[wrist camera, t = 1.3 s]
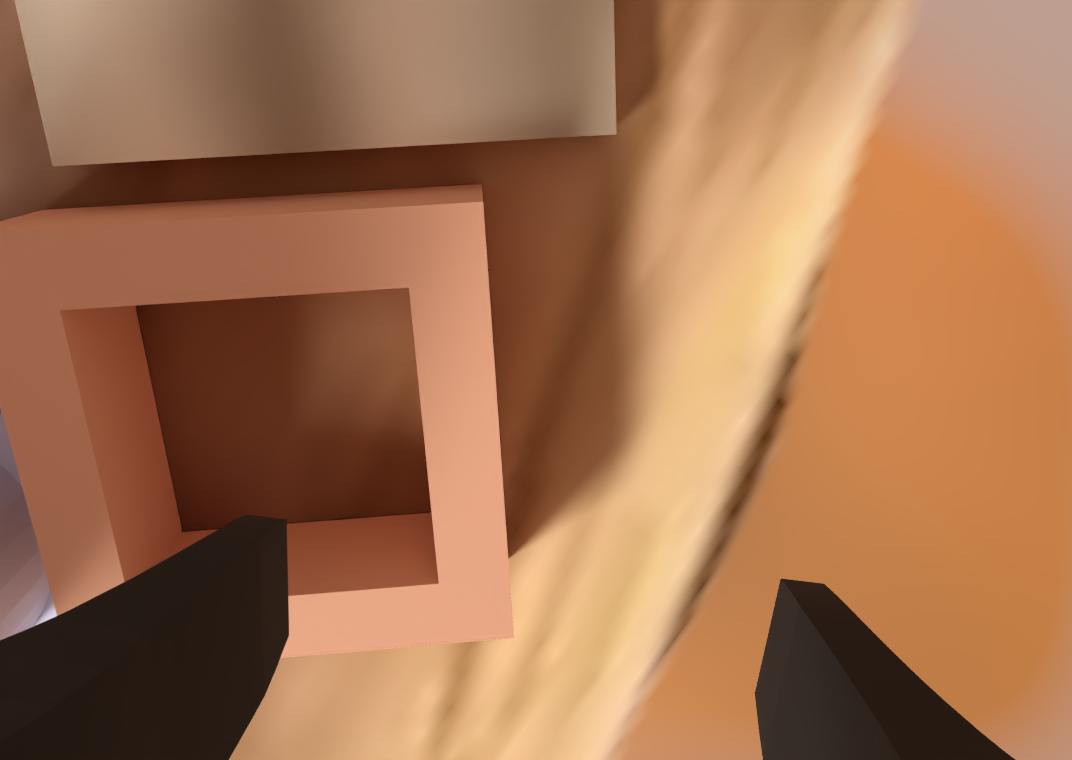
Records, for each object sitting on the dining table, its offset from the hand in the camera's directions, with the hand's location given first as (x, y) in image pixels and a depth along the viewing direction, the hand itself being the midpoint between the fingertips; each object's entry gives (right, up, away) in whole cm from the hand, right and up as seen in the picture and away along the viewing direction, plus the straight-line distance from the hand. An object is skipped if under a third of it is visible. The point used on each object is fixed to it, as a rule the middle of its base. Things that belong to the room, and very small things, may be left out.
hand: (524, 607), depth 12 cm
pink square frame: (-6, +3, +9) cm, 11 cm away
